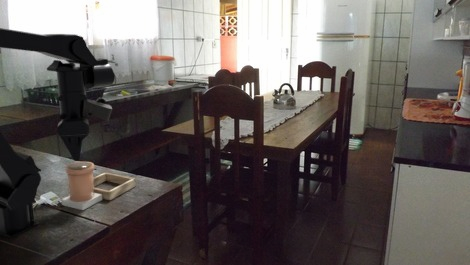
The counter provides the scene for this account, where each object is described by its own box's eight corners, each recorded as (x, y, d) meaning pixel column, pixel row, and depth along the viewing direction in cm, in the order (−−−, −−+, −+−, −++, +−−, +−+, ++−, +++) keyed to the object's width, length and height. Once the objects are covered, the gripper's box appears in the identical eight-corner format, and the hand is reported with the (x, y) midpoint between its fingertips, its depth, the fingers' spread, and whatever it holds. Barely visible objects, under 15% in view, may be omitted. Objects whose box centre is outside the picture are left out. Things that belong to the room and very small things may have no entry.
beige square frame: (110, 200, 93) (109, 192, 92) (78, 192, 97) (77, 185, 96) (135, 186, 102) (135, 178, 102) (105, 179, 106) (105, 172, 106)
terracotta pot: (82, 204, 87) (80, 172, 85) (61, 199, 89) (59, 167, 87) (101, 194, 93) (99, 164, 91) (82, 189, 95) (79, 159, 93)
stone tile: (82, 210, 87) (82, 204, 87) (62, 204, 90) (61, 199, 89) (102, 199, 93) (102, 194, 93) (82, 195, 96) (81, 189, 95)
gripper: (111, 95, 80) (115, 163, 84) (106, 84, 97) (109, 141, 101) (54, 97, 76) (61, 168, 80) (59, 85, 93) (64, 145, 97)
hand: (77, 154), depth 89 cm, fingers open, 9 cm apart
